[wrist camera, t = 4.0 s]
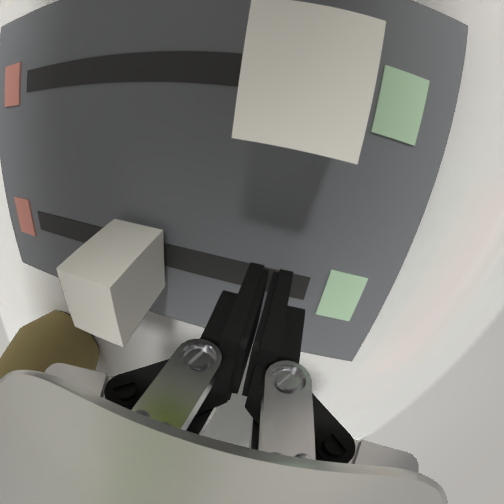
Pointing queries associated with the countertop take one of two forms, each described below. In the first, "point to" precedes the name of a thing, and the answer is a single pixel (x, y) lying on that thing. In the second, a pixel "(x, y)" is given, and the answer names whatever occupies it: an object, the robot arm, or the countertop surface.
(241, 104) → the block
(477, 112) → the countertop surface
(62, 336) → the squeeze bottle
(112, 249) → the block
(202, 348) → the robot arm
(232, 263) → the slider switch panel
